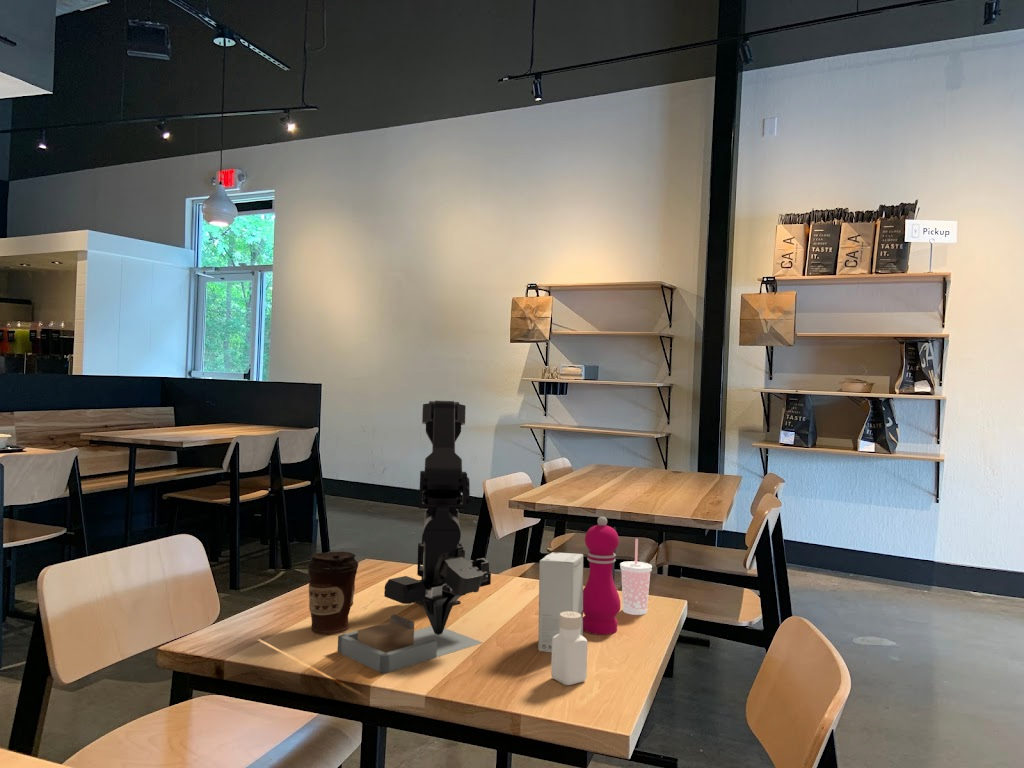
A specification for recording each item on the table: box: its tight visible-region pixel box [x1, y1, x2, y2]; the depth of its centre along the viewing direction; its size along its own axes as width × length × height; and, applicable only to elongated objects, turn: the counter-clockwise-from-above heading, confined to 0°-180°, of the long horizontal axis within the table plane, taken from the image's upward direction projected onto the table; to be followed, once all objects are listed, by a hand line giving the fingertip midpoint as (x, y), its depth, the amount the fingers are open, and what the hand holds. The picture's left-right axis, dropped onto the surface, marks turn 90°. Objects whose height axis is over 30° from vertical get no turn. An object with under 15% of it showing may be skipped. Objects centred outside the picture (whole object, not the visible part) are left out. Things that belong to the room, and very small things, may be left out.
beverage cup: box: [619, 538, 653, 616], centre depth 141 cm, size 6×6×14 cm
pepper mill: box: [583, 516, 622, 636], centre depth 129 cm, size 7×7×20 cm
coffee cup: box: [307, 551, 359, 636], centre depth 124 cm, size 9×8×13 cm
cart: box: [357, 614, 415, 653], centre depth 113 cm, size 7×5×5 cm
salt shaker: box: [550, 611, 588, 686], centre depth 106 cm, size 4×4×10 cm
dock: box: [337, 625, 484, 675], centre depth 116 cm, size 20×12×3 cm, turn 136°
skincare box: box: [537, 551, 584, 653], centre depth 120 cm, size 8×6×15 cm
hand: (438, 633), depth 121 cm, fingers closed
